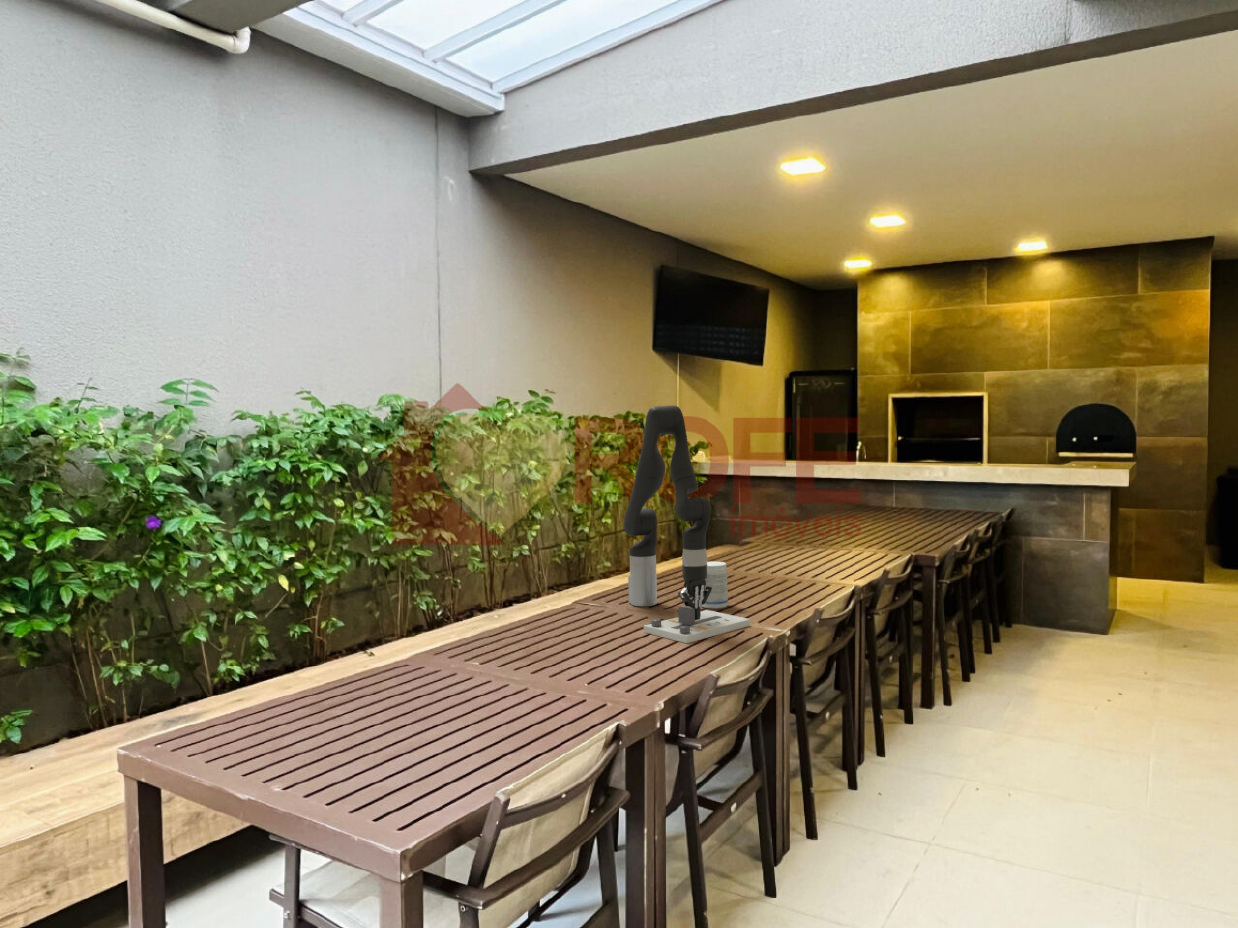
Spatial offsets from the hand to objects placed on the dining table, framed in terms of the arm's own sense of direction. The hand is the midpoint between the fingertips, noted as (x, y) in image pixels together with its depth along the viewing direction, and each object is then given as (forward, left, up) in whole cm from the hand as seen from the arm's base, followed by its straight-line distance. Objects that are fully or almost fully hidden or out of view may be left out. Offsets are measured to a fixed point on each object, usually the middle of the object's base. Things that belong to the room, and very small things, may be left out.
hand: (695, 619), depth 251 cm
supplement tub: (-17, +27, -3) cm, 32 cm away
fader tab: (0, -4, -1) cm, 4 cm away
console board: (0, +1, -3) cm, 3 cm away
